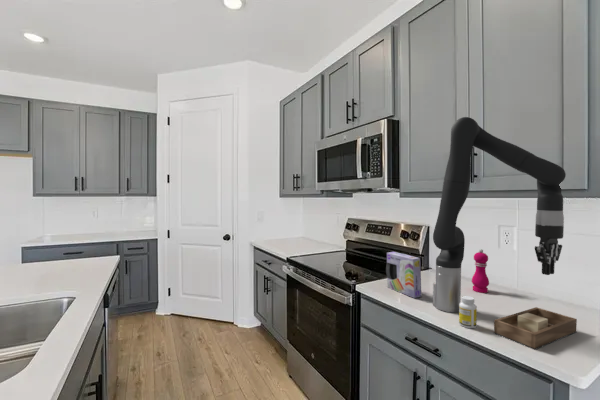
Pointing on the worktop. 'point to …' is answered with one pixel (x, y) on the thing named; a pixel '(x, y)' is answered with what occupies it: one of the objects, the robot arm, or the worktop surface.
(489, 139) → the robot arm
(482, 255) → the pepper mill
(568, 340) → the worktop surface
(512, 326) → the divided wooden tray
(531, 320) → the block
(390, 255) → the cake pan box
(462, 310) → the supplement bottle
